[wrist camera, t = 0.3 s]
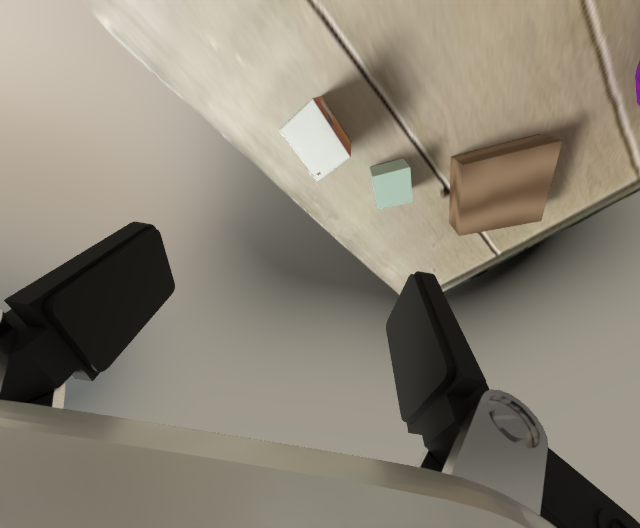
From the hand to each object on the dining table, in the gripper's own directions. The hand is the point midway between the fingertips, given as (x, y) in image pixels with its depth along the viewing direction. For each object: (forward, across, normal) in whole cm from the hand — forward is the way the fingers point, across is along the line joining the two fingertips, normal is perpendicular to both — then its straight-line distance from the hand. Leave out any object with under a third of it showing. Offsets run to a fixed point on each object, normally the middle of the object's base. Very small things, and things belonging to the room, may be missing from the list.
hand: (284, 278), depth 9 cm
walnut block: (+36, -28, +3) cm, 45 cm away
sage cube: (+36, -11, +5) cm, 38 cm away
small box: (+36, +1, 0) cm, 36 cm away
